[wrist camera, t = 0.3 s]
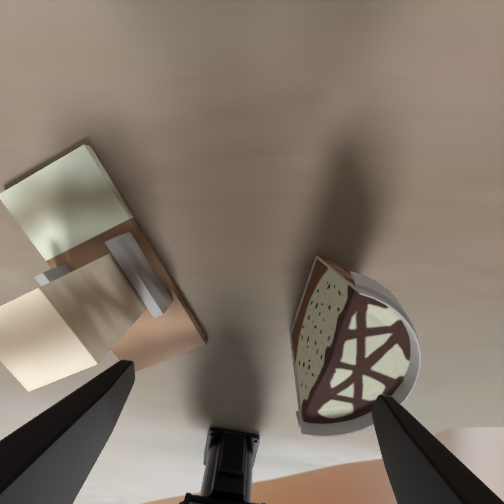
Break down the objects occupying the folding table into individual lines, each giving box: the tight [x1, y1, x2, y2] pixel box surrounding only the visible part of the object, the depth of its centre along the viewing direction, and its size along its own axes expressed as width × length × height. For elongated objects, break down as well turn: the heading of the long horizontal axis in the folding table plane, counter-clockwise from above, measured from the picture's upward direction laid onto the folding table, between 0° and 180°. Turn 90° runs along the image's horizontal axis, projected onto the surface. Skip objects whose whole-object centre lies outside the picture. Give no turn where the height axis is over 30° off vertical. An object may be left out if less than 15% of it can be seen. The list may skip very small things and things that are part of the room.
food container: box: [290, 255, 421, 437], centre depth 20 cm, size 12×6×10 cm, turn 167°
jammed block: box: [0, 253, 147, 392], centre depth 20 cm, size 6×6×9 cm
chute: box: [0, 145, 207, 371], centre depth 23 cm, size 22×10×3 cm, turn 25°
